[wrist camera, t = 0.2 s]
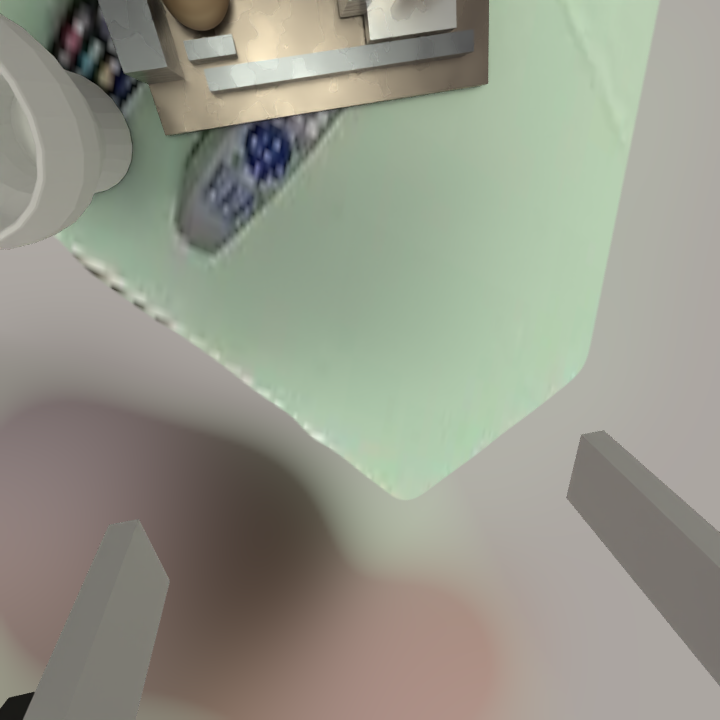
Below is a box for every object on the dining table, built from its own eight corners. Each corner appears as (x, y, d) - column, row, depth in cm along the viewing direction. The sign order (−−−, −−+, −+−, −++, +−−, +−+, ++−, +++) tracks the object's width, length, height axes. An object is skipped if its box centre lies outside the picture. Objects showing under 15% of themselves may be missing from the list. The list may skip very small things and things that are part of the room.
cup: (21, -3, 25) (-256, -161, 12) (181, 125, 30) (105, 110, 17) (-43, 145, 28) (-324, 146, 15) (112, 241, 32) (1, 307, 19)
